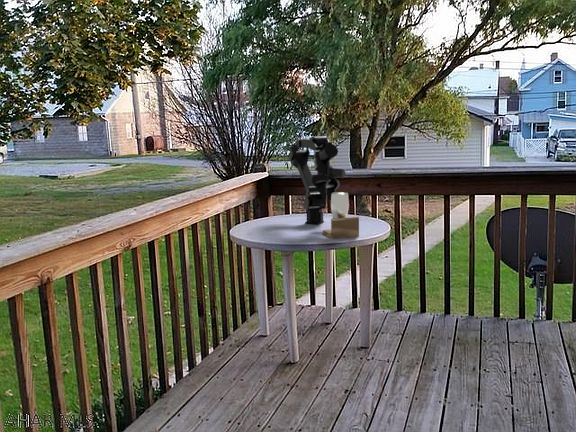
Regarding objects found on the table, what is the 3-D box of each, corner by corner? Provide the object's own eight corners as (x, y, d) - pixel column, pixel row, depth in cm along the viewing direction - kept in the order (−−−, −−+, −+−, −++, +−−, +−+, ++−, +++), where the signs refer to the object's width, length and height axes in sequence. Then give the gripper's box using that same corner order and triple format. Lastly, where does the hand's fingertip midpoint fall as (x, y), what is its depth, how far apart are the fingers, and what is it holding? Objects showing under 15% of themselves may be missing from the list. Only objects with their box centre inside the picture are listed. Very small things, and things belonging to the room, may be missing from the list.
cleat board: (322, 233, 223) (322, 214, 222) (347, 231, 227) (347, 212, 225) (332, 238, 213) (332, 219, 212) (358, 236, 217) (358, 217, 216)
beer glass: (327, 230, 222) (327, 192, 219) (341, 228, 225) (341, 191, 223) (337, 233, 216) (337, 194, 213) (352, 231, 219) (352, 193, 217)
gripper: (333, 155, 221) (340, 193, 218) (348, 164, 238) (354, 200, 235) (307, 162, 225) (314, 200, 222) (323, 171, 242) (330, 205, 239)
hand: (329, 201), depth 229 cm, fingers open, 9 cm apart
